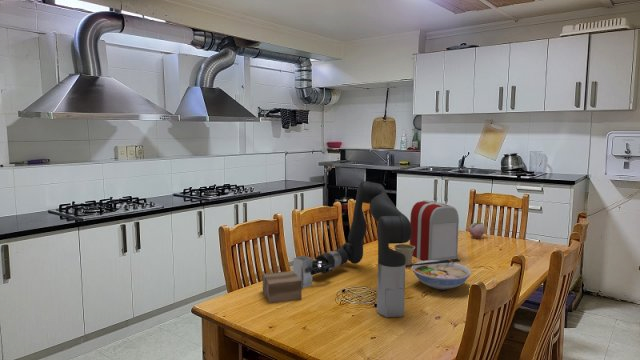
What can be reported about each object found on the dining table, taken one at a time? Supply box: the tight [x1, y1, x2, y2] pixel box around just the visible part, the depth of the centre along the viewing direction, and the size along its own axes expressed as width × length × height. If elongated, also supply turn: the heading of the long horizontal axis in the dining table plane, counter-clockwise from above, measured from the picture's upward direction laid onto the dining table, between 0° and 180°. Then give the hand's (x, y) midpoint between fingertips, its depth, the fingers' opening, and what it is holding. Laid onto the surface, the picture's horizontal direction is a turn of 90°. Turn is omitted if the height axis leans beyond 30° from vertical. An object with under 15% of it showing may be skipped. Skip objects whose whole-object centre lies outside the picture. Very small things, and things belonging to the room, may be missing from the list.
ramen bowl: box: [405, 258, 472, 291], centre depth 175 cm, size 25×23×8 cm
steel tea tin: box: [292, 255, 313, 289], centre depth 176 cm, size 5×5×11 cm
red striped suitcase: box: [409, 199, 460, 261], centre depth 214 cm, size 16×18×27 cm
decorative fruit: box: [468, 220, 486, 239], centre depth 253 cm, size 9×8×10 cm
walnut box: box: [262, 270, 303, 304], centre depth 165 cm, size 12×12×7 cm
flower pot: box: [393, 243, 415, 267], centre depth 202 cm, size 9×9×9 cm
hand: (303, 270), depth 176 cm, fingers open, 8 cm apart
